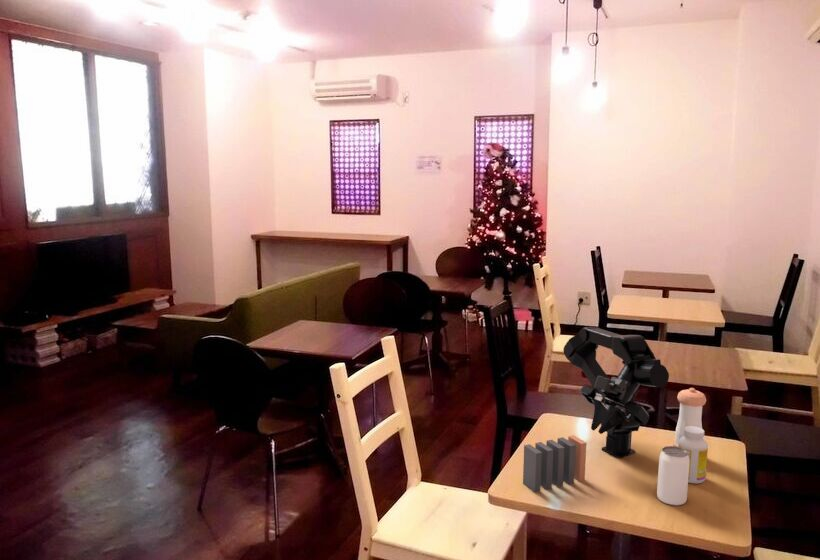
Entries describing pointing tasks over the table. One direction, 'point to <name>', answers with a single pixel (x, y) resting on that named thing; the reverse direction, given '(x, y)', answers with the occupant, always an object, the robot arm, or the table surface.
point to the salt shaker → (689, 411)
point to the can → (673, 476)
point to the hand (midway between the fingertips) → (595, 431)
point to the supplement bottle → (695, 453)
